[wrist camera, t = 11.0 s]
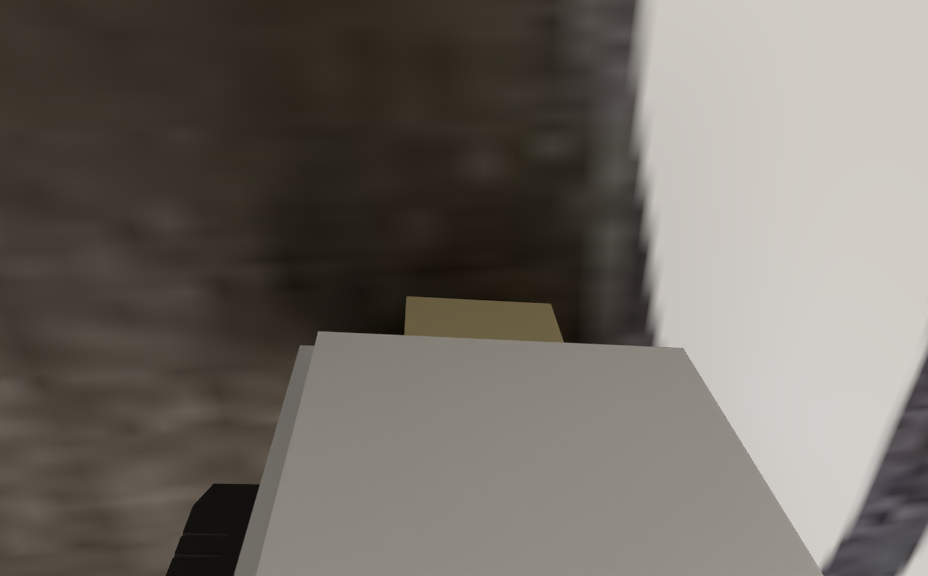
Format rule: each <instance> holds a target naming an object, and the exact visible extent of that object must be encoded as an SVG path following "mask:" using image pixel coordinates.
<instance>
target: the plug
mask: <svg viewBox="0 0 928 576" xmlns="http://www.w3.org/2000/svg"><path fill="white" fill-rule="evenodd" d="M256 576H824V575H823V574H822V572H821V571H820V569H819V567H818V566H817V564H816V563H815V561H814V559H813V558H812V556H811V554H810V553H809V551H808V550H807V548H806V546H805V545H804V543H803V542H802V540H801V538H800V537H799V535H798V533H797V532H796V530H795V529H794V527H793V525H792V524H791V522H790V521H789V519H788V517H787V516H786V514H785V513H784V511H783V509H782V508H781V506H780V505H779V503H778V501H777V500H776V498H775V496H774V495H773V493H772V491H771V490H770V488H769V487H768V485H767V483H766V482H765V480H764V479H763V477H762V475H761V474H760V472H759V470H758V469H757V467H756V465H755V464H754V462H753V461H752V459H751V457H750V456H749V454H748V453H747V451H746V449H745V448H744V446H743V444H742V443H741V441H740V440H739V438H738V436H737V435H736V433H735V432H734V430H733V428H732V427H731V425H730V423H729V422H728V420H727V419H726V417H725V415H724V414H723V412H722V411H721V409H720V407H719V406H718V404H717V402H716V401H715V399H714V398H713V396H712V394H711V393H710V391H709V389H708V388H707V386H706V385H705V383H704V381H703V380H702V378H701V376H700V375H699V373H698V372H697V370H696V368H695V367H694V365H693V364H692V362H691V360H690V359H689V357H688V355H687V354H686V352H685V351H684V349H683V348H668V347H647V346H625V345H603V344H582V343H564V341H563V338H562V335H561V332H560V330H559V327H558V324H557V321H556V318H555V315H554V312H553V309H552V306H551V304H546V303H526V302H507V301H488V300H468V299H449V298H430V297H410V296H406V313H405V331H404V335H387V334H365V333H343V332H322V331H318V334H317V338H316V342H315V346H314V350H313V354H312V358H311V362H310V366H309V369H308V373H307V377H306V381H305V385H304V389H303V393H302V397H301V401H300V405H299V409H298V412H297V416H296V420H295V424H294V428H293V432H292V436H291V440H290V444H289V448H288V451H287V455H286V459H285V463H284V467H283V471H282V475H281V479H280V483H279V487H278V491H277V494H276V498H275V502H274V506H273V510H272V514H271V518H270V522H269V526H268V530H267V533H266V537H265V541H264V545H263V549H262V553H261V557H260V561H259V565H258V569H257V573H256Z"/></svg>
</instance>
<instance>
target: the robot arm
mask: <svg viewBox="0 0 928 576" xmlns="http://www.w3.org/2000/svg"><path fill="white" fill-rule="evenodd" d="M313 350H314V346H304V345H300V347H299V350H298V354H297V357H296V361H295V364H294V368H293V371H292V375H291V378H290V382H289V385H288V389H287V392H286V395H285V399H284V402H283V406H282V409H281V413H280V416H279V420H278V423H277V427H276V430H275V434H274V437H273V441H272V444H271V448H270V451H269V455H268V458H267V462H266V465H265V469H264V472H263V476H262V479H261V483H260V485H254V484H213V485H212V486H211V487H210V488H209V489H208V490H207V491H206V493H205V494H204V495H203V496H202V497H201V498H200V499H199V500H198V501H197V502H196V503H195V504H194V505H193V508H192V510H191V513H190V515H189V518H188V520H187V523H186V525H185V528H184V531H183V536H181V538H180V541H179V543H178V546H177V548H176V551H175V556H174V558H173V559H172V561H171V564H170V566H169V569H168V571H167V574H166V576H256V573H257V569H258V565H259V561H260V557H261V553H262V549H263V545H264V541H265V537H266V533H267V530H268V526H269V522H270V518H271V514H272V510H273V506H274V502H275V498H276V494H277V491H278V487H279V483H280V479H281V475H282V471H283V467H284V463H285V459H286V455H287V451H288V448H289V444H290V440H291V436H292V432H293V428H294V424H295V420H296V416H297V412H298V409H299V405H300V401H301V397H302V393H303V389H304V385H305V381H306V377H307V373H308V369H309V366H310V362H311V358H312V354H313Z"/></svg>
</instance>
